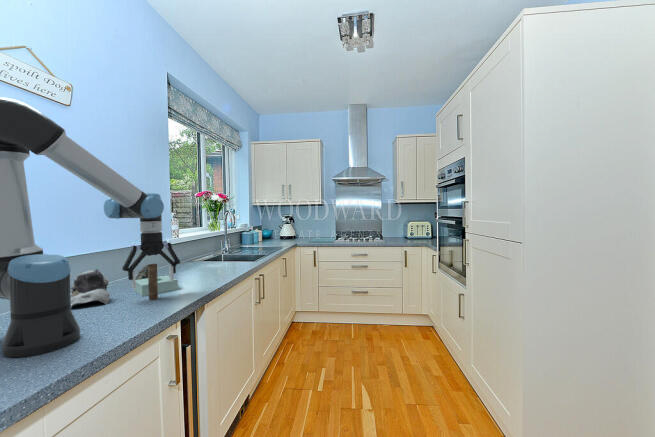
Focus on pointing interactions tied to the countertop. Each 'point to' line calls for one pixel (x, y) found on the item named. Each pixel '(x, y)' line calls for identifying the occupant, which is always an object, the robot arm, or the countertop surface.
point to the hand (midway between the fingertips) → (153, 284)
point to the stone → (89, 288)
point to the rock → (143, 273)
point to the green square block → (163, 285)
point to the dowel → (152, 281)
